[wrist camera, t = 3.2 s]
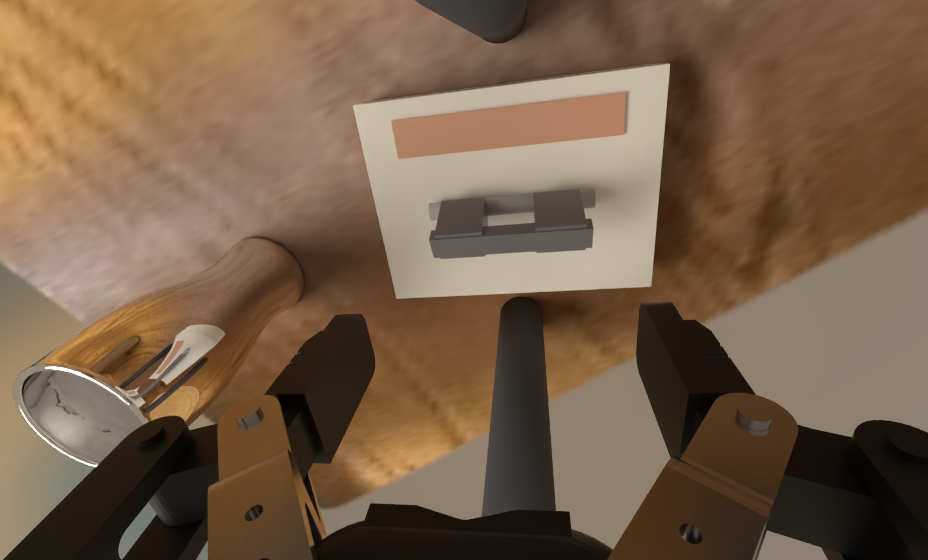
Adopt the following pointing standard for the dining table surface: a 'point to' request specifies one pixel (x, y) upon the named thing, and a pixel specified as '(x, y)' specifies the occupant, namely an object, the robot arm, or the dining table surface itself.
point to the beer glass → (157, 353)
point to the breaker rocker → (552, 231)
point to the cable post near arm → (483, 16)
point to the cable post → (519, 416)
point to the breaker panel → (521, 176)
